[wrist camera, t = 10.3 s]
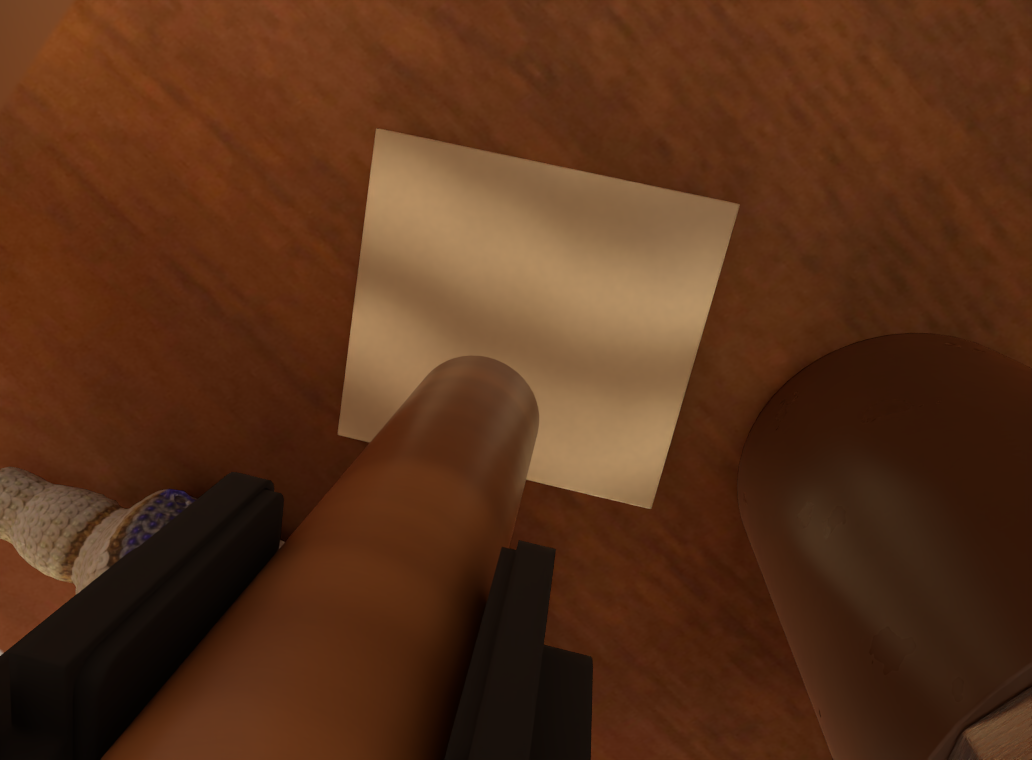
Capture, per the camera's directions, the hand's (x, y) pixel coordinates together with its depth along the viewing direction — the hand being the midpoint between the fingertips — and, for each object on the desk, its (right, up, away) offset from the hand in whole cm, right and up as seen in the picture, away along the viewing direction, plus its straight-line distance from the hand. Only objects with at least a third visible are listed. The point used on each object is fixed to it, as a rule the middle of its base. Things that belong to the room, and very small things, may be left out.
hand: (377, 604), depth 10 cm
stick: (+1, +2, +8) cm, 8 cm away
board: (+2, +5, +17) cm, 18 cm away
